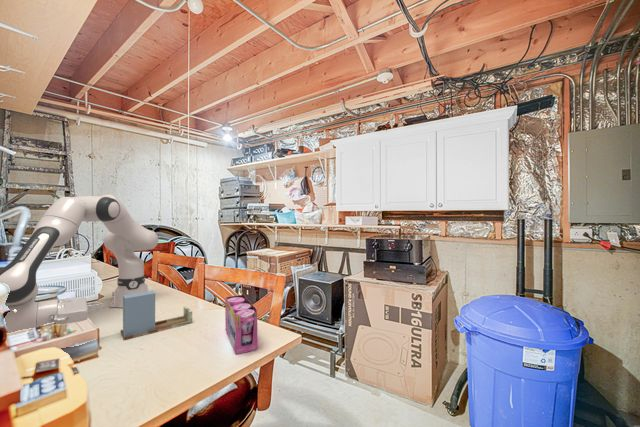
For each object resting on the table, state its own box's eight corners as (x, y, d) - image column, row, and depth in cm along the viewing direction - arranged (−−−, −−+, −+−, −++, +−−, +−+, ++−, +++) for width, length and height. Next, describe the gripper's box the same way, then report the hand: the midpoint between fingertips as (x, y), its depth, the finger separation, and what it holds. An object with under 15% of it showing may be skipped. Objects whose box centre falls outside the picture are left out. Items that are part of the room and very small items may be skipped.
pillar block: (122, 333, 107) (123, 295, 107) (152, 326, 113) (152, 290, 113) (124, 338, 103) (124, 298, 103) (155, 330, 110) (155, 293, 110)
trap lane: (120, 334, 108) (120, 320, 108) (185, 318, 124) (185, 306, 124) (123, 342, 101) (123, 326, 101) (192, 324, 117) (192, 311, 117)
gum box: (259, 351, 94) (259, 312, 94) (235, 357, 91) (235, 316, 91) (244, 326, 115) (244, 294, 116) (224, 330, 112) (224, 296, 112)
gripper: (48, 311, 84) (105, 302, 93) (52, 297, 99) (101, 290, 108) (48, 332, 83) (105, 321, 93) (52, 315, 99) (101, 306, 108)
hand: (103, 304), depth 100 cm, fingers closed
